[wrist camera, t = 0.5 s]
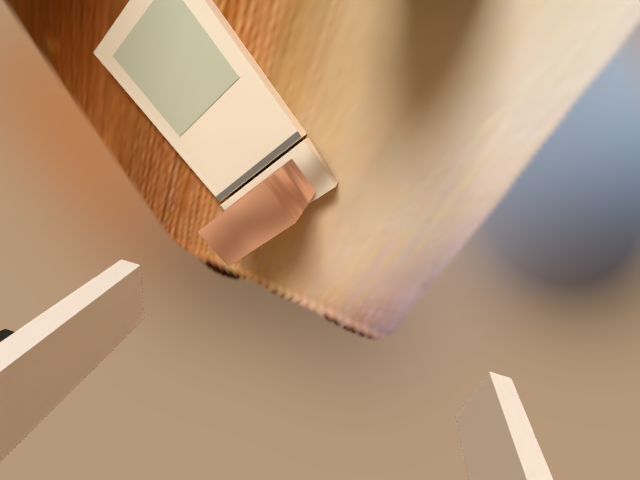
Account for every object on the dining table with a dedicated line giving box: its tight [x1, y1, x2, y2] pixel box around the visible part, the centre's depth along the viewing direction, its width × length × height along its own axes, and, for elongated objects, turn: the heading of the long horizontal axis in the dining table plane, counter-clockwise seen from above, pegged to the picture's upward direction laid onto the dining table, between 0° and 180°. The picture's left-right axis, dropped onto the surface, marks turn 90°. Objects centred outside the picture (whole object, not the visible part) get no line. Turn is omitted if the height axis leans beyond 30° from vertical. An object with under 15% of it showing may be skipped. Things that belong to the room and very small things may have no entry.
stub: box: [198, 137, 339, 266], centre depth 30 cm, size 5×12×10 cm, turn 127°
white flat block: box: [94, 0, 306, 202], centre depth 31 cm, size 18×12×2 cm, turn 37°
